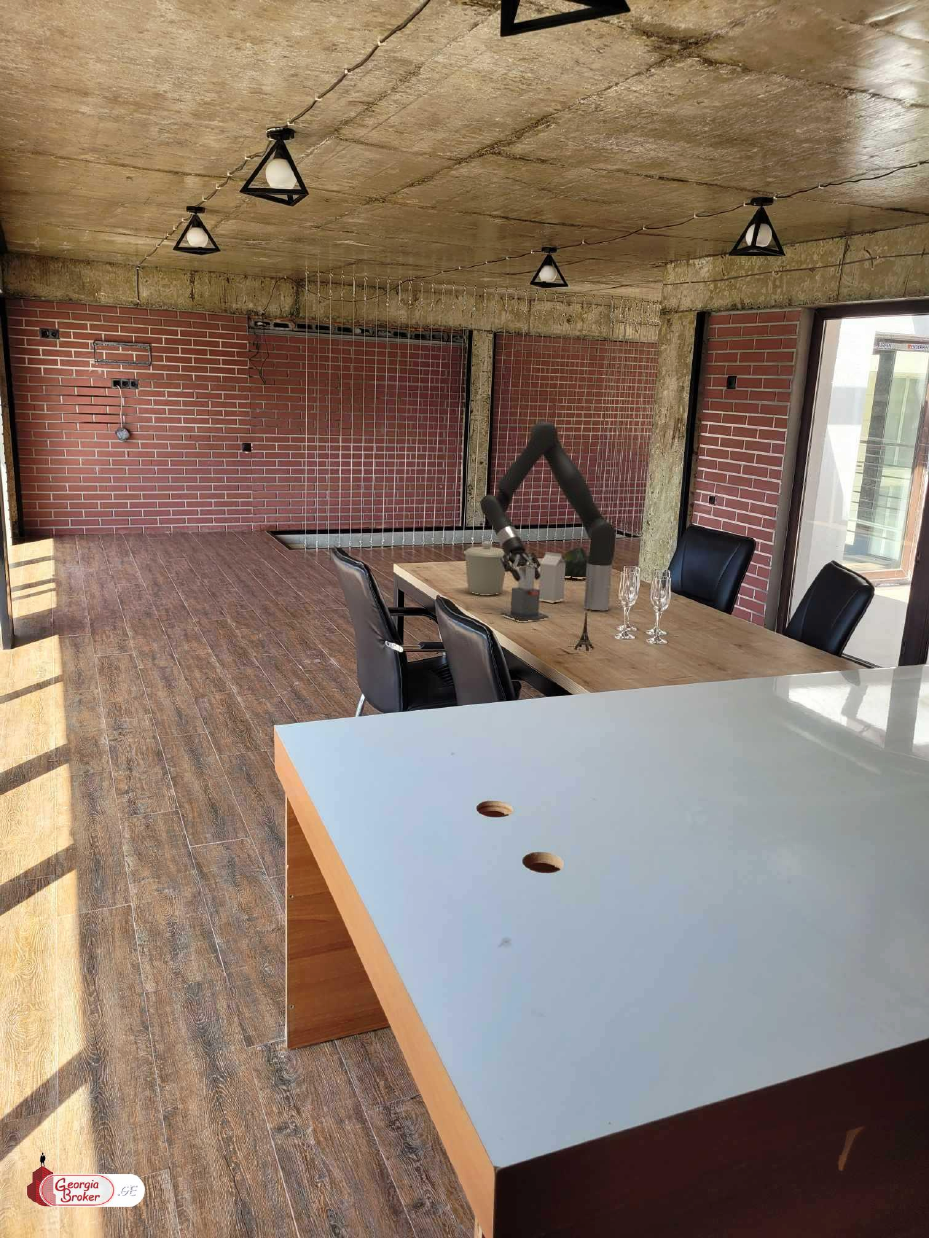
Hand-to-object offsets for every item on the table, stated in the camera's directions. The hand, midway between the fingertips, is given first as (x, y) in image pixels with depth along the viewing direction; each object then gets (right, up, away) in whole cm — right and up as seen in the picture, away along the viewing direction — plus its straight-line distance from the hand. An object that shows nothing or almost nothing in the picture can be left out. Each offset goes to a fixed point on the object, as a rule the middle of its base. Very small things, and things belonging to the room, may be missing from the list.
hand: (528, 579), depth 324 cm
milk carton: (+11, -7, +35) cm, 37 cm away
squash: (+26, +4, +86) cm, 90 cm away
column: (-1, -12, +4) cm, 12 cm away
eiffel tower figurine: (+15, -24, -36) cm, 45 cm away
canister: (-14, -4, +45) cm, 48 cm away
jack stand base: (-1, -14, +4) cm, 14 cm away
